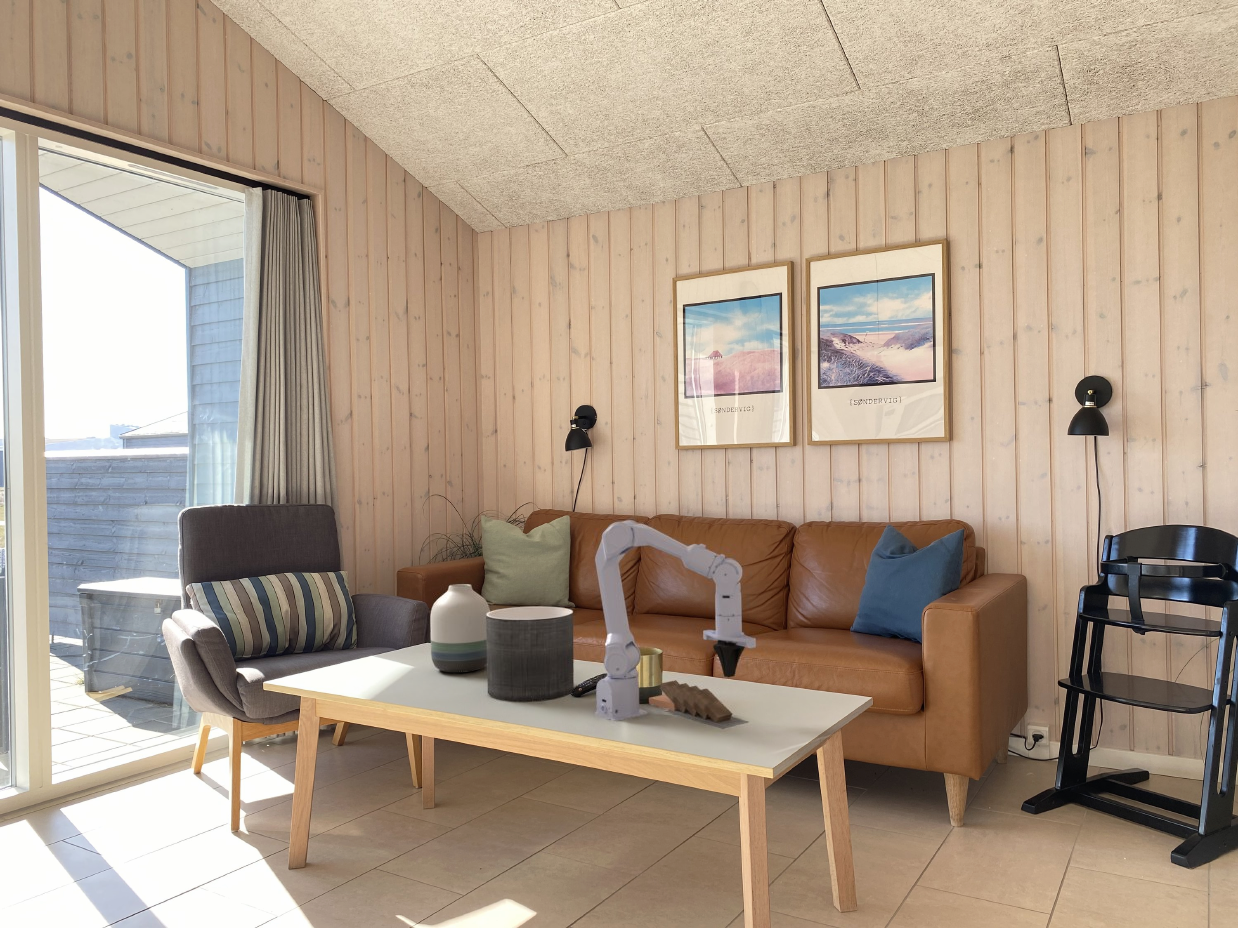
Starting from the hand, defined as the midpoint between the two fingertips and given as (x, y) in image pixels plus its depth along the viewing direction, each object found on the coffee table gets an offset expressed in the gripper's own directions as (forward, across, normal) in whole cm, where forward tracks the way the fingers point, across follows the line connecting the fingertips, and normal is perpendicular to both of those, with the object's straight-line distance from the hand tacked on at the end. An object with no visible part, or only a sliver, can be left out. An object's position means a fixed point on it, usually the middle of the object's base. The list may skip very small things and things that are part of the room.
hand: (729, 676), depth 195 cm
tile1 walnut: (+9, 0, +2) cm, 9 cm away
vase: (+10, +88, +20) cm, 91 cm away
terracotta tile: (+9, +14, +2) cm, 16 cm away
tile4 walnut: (+9, +10, +2) cm, 14 cm away
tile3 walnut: (+9, +6, +2) cm, 11 cm away
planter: (+10, +53, +19) cm, 57 cm away
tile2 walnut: (+9, +3, +2) cm, 10 cm away
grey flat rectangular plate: (+10, +5, +2) cm, 11 cm away
